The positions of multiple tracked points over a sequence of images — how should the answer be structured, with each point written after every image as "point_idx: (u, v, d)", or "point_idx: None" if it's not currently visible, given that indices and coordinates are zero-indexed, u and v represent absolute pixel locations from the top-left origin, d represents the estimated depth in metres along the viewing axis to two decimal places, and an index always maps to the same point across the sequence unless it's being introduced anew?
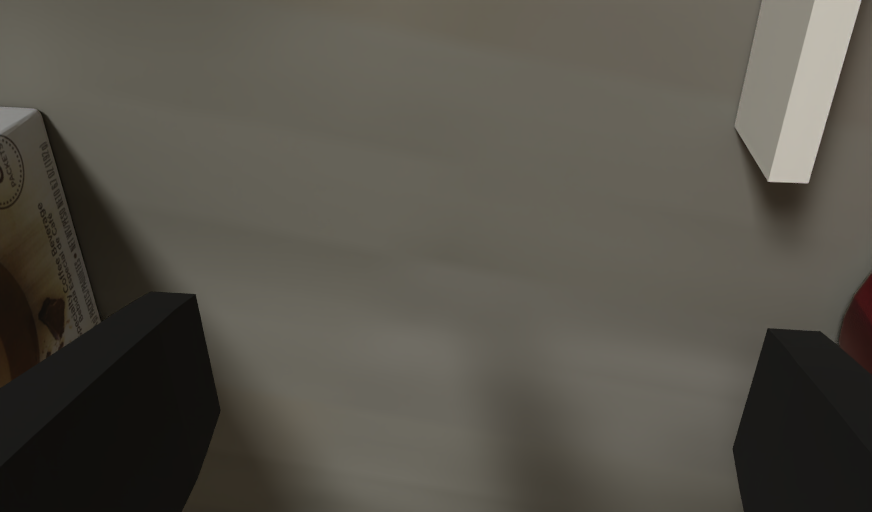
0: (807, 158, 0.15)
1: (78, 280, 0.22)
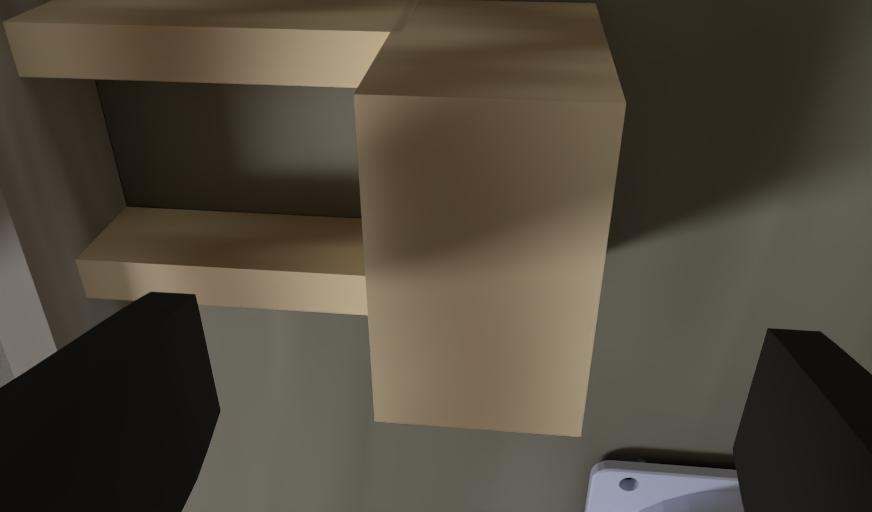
0: None
1: None
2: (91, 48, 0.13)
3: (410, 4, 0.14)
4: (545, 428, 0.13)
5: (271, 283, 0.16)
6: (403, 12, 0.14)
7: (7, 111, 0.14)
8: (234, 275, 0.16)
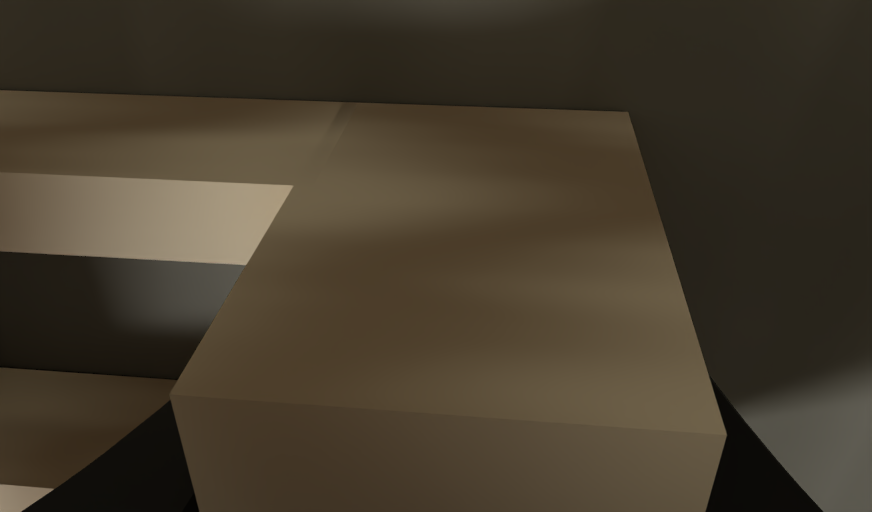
0: None
1: None
2: None
3: (340, 117, 0.09)
4: None
5: None
6: (326, 134, 0.09)
7: None
8: None
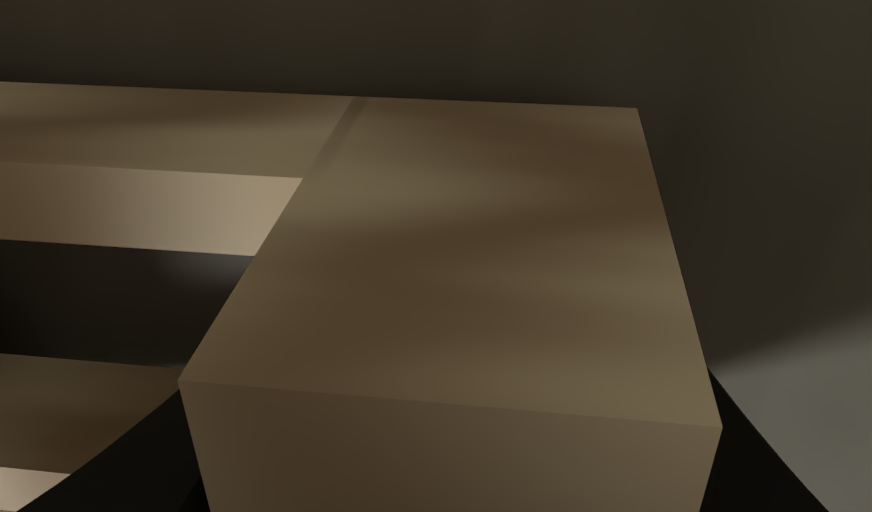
0: None
1: None
2: None
3: (351, 111, 0.09)
4: None
5: None
6: (336, 128, 0.09)
7: None
8: None
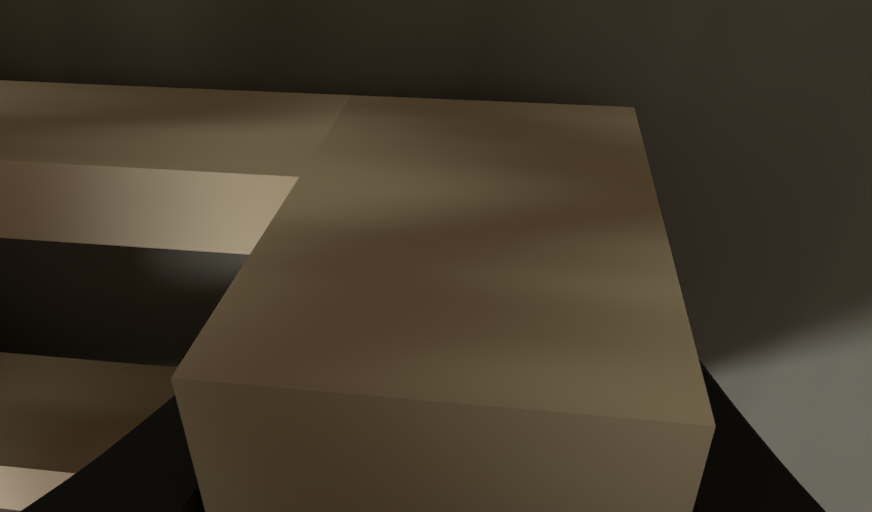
0: None
1: None
2: None
3: (349, 110, 0.09)
4: None
5: None
6: (333, 127, 0.09)
7: None
8: None
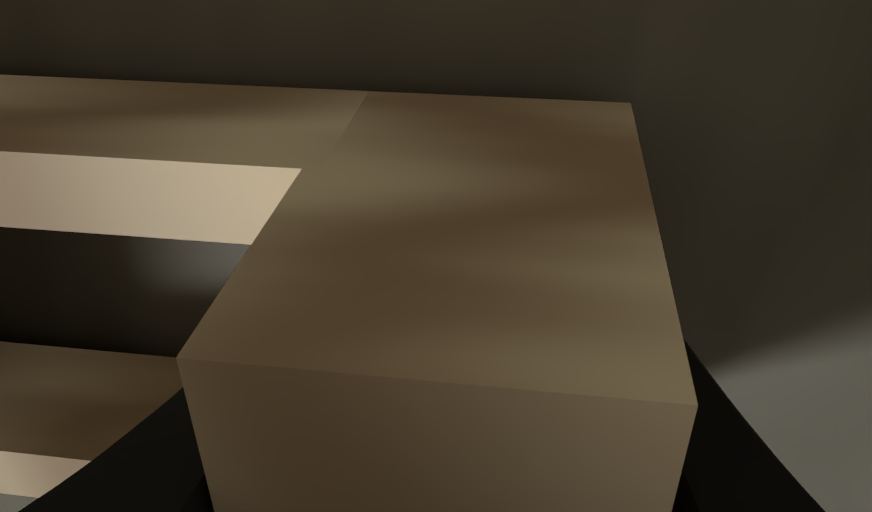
0: None
1: None
2: None
3: (350, 104, 0.09)
4: None
5: None
6: (335, 121, 0.09)
7: None
8: None
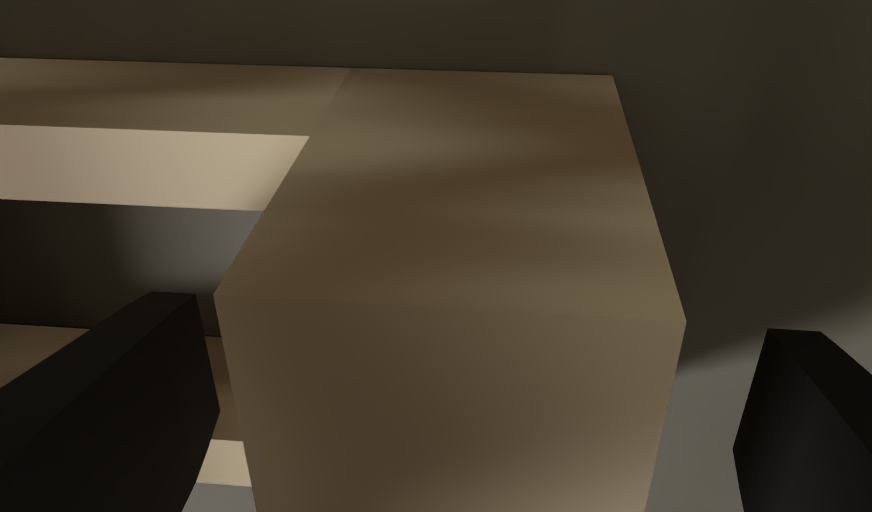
0: None
1: None
2: None
3: (349, 79, 0.10)
4: None
5: None
6: (337, 95, 0.10)
7: None
8: None
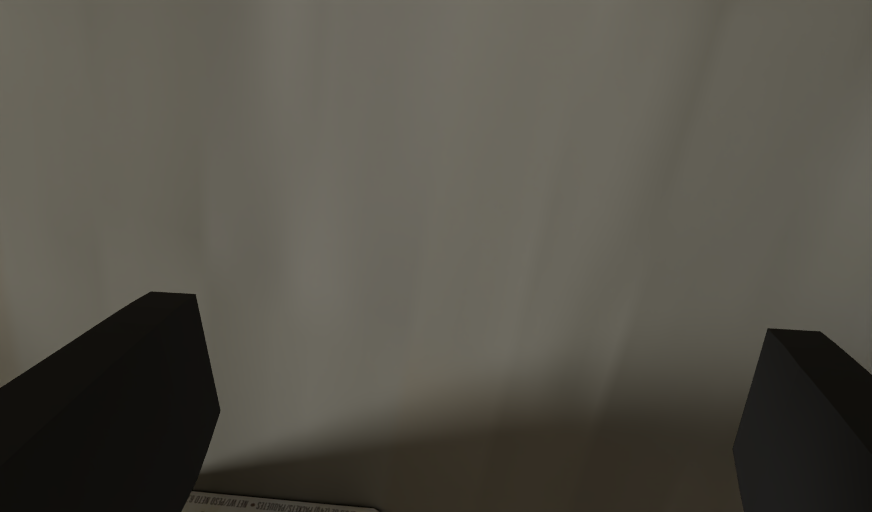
0: None
1: (270, 511, 0.26)
2: None
3: None
4: None
5: None
6: None
7: None
8: None
